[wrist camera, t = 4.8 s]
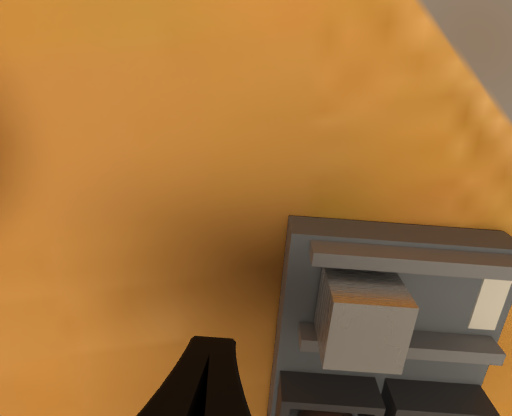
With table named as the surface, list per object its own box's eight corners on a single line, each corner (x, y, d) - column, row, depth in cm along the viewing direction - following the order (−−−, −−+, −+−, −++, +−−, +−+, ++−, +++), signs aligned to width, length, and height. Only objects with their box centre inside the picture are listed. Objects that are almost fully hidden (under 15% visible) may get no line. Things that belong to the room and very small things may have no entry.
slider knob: (313, 321, 17) (322, 368, 14) (322, 262, 16) (333, 302, 13) (380, 326, 17) (401, 374, 14) (394, 268, 16) (419, 308, 13)
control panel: (265, 427, 23) (265, 495, 19) (288, 215, 18) (294, 254, 14) (433, 439, 23) (465, 509, 19) (503, 231, 18) (562, 273, 14)
